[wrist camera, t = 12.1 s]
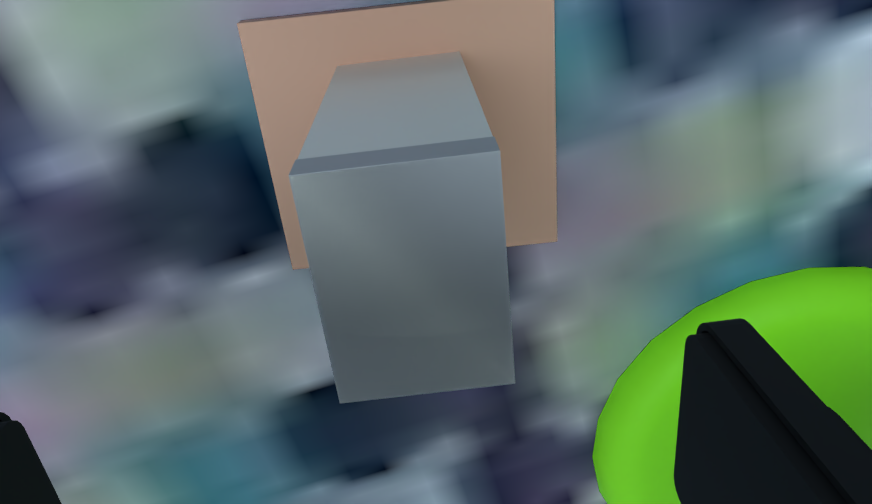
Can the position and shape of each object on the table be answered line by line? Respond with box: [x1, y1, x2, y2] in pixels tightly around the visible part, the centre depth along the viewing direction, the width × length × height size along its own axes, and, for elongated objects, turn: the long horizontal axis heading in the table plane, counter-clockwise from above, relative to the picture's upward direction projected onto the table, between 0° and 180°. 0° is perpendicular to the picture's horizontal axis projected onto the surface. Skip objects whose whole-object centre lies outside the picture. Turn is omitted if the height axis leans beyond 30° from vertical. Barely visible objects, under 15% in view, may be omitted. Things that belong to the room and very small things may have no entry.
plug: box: [289, 51, 515, 403], centre depth 16 cm, size 5×4×9 cm
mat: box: [237, 0, 557, 270], centre depth 21 cm, size 8×9×1 cm
